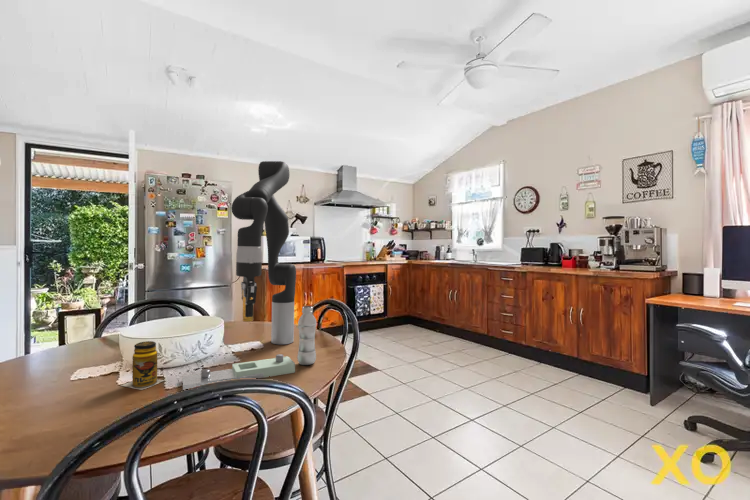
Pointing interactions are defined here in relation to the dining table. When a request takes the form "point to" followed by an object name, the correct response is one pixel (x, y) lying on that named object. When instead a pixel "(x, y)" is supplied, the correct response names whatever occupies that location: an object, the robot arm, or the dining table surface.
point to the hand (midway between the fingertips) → (248, 315)
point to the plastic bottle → (307, 337)
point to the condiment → (144, 366)
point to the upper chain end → (265, 367)
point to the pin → (245, 319)
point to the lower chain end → (212, 377)
